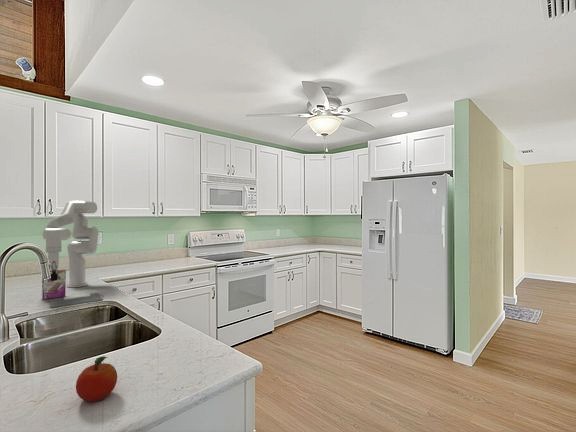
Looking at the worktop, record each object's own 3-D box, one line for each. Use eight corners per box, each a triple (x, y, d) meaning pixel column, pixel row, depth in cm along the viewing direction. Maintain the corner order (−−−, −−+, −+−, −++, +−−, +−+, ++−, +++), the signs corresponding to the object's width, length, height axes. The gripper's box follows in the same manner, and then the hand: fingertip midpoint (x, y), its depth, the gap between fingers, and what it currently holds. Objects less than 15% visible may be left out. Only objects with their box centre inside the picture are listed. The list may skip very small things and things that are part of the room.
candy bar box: (42, 300, 179) (42, 272, 179) (41, 298, 182) (41, 271, 182) (66, 296, 187) (65, 269, 187) (64, 295, 190) (64, 268, 190)
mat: (49, 300, 179) (49, 298, 179) (97, 293, 194) (97, 292, 194) (50, 308, 163) (50, 306, 163) (102, 300, 178) (102, 299, 178)
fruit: (65, 406, 78) (65, 367, 78) (95, 385, 88) (95, 351, 88) (98, 410, 77) (98, 370, 77) (125, 388, 86) (124, 353, 86)
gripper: (45, 248, 189) (45, 278, 189) (45, 251, 175) (46, 282, 175) (60, 248, 193) (60, 276, 193) (62, 250, 180) (62, 281, 180)
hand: (53, 279), depth 184 cm, fingers closed on candy bar box, 5 cm apart
